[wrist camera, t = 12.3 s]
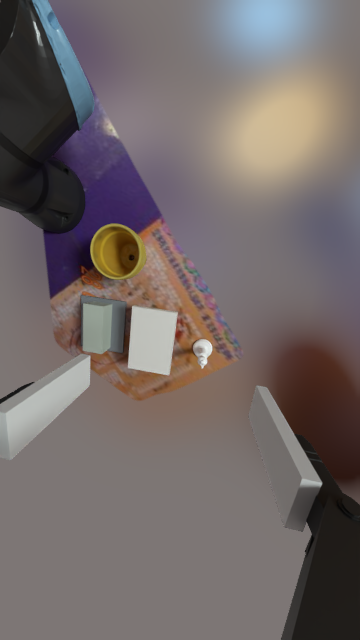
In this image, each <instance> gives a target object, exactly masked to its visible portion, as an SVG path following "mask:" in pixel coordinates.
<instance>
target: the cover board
mask: <svg viewBox="0 0 360 640" xmlns="http://www.w3.org/2000/svg"><path fill="white" fill-rule="evenodd" d="M177 315H178V312H176V311H170V310H163V309H156V308H150V307H143V306H137V305H134V306H132V317H131V331H130V345H129V359H128V368H132V369H137V370H143V371H148V372H154V373H159V374H164V375H169V374H170V368H171V361H172V353H173V345H174V338H175V330H176V322H177Z"/></svg>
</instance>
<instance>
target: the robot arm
mask: <svg viewBox="0 0 360 640" xmlns="http://www.w3.org/2000/svg"><path fill="white" fill-rule="evenodd" d="M93 110H94V98H93V94H92V91H91V88H90V86H89V84H88V81H87V79H86V77H85V75H84V72H83V70H82V68H81V66H80V64H79V62H78V60H77V57H76V55H75V53H74V51H73V49H72V47H71V45H70V43H69V41H68V39H67V37H66V35H65V33H64V31H63V29H62V27H61V26H60V24H59V23H58V21H57V18H56V16H55V14H54V12H53V10H52V8H51V6H50V4H49V2H48V0H0V206H2V207H5V208H7V209H10V210H13V211H16V212H19V213H20V214H22V215H23V216H24V217H25V218H27V219H28V220H29V221H31V222H32V223H33V224H35V225H36V226H38V227H40V228H41V229H44V230H47V231H50V232H54V233H64V232H68V231H70V230H71V229H73V228H74V227H75V226H76V225H77V224H78V223H79V222H80V220H81V218H82V216H83V213H84V209H85V194H84V189H83V186H82V184H81V182H80V180H79V178H78V177H77V175H76V174H75V173H74V172H73V171H72V170H71V169H70V168H69V167H68V166H67V165H65V164H64V163H63V162H61V161H60V160H58V159H56V158H54V157H51V156H52V155H53V154H54V153H55V152H56V151H57V150H58V149H59V148H60V147H61V146H62V145H63V144H64V143H65V142H66V141H67V140H68V139H69V138H70V137H71V136H72V135H73V134H74V133H75V132H76V131H77V130H78V131H80V130H81V128H82V125H83V124H84V122H85V121H86V120H87V119H88V118H89V117H90V116H91V114H92V113H93ZM89 386H90V355H85V354H80V355H79V356H77V357H75V358H74V359H72V360H71V361H69V362H67V363H66V364H64V365H62V366H61V367H59V368H58V369H56V370H54V371H53V372H51V373H50V374H48V375H46V376H45V377H43V378H42V379H40V380H38V381H37V382H32V383H29V384H26V385H24V386H22V387H20V388H18V389H17V390H15V391H14V392H12V393H10V394H8V395H7V396H5V397H3V398H2V399H0V458H3V459H8V460H11V459H12V458H13V457H14V456H16V454H18V452H20V451H21V450H22V449H23V448H24V447H25V446H26V445H27V444H28V443H29V442H30V441H31V440H33V439H34V438H35V437H36V436H37V435H38V434H39V433H40V432H41V431H42V430H43V429H44V428H45V427H46V426H47V425H48V424H49V423H51V422H52V420H54V419H55V418H56V417H57V416H58V415H59V414H60V413H61V412H62V411H63V410H64V409H65V408H66V407H67V406H68V405H70V404H71V403H72V402H73V401H74V400H75V399H76V398H77V397H78V396H79V395H80V394H81V393H82V392H83V391H84V390H85V389H86V388H88V387H89ZM248 417H249V420H250V423H251V427H252V430H253V433H254V436H255V439H256V442H257V445H258V448H259V451H260V454H261V457H262V461H263V464H264V466H265V469H266V473H267V476H268V479H269V482H270V485H271V488H272V491H273V494H274V497H275V500H276V504H277V507H278V510H279V513H280V516H281V519H282V522H283V525H284V527H285V528H289V529H293V530H298V531H301V532H303V530H304V527H305V525H306V522H307V523H308V526H309V528H310V530H311V533H312V536H311V538H310V540H309V543H308V545H307V548H306V550H305V552H306V555H305V558H304V562H303V565H302V569H301V572H300V575H299V579H298V583H297V586H296V589H295V593H294V596H293V599H292V603H291V607H290V610H289V613H288V617H287V620H286V624H285V627H284V631H283V634H282V638H281V640H360V505H359V504H358V503H357V502H356V501H355V500H353V499H352V498H351V497H349V496H347V495H345V494H344V493H342V491H341V490H340V488H339V486H338V485H337V483H336V482H335V480H334V479H333V478H332V476H331V474H330V473H329V471H328V470H327V468H326V467H325V465H324V464H323V463H322V460H321V459H320V457H319V456H318V455H317V453H316V451H315V450H314V448H313V446H312V445H311V444H310V443H309V442H308V441H307V440H306V439H305V438H304V437H303V436H302V435H297V434H294V433H293V432H292V430H291V428H290V426H289V425H288V423H287V421H286V420H285V418H284V416H283V414H282V413H281V411H280V409H279V408H278V406H277V404H276V403H275V401H274V399H273V397H272V396H271V394H270V392H269V390H268V389H267V388H266V387H261V386H256V389H255V392H254V396H253V401H252V404H251V408H250V412H249V416H248Z"/></svg>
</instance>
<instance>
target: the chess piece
mask: <svg viewBox="0 0 360 640" xmlns="http://www.w3.org/2000/svg"><path fill="white" fill-rule="evenodd" d="M193 351H194V353H195V355H196V356H198V364H199V365H201V367H202V368H204V365H206V364H207V357H208V356H209V355H210V354H211V352H212V345H211V343H210V342H209V341H208V340H205V339H200V340H197V341H196V342H195V343H194V345H193Z"/></svg>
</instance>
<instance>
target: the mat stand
mask: <svg viewBox="0 0 360 640" xmlns="http://www.w3.org/2000/svg"><path fill="white" fill-rule="evenodd" d="M126 304H127V302H124V301H117V300H111V299H104V298H98V297H91V296H84V295H81V346H83V351H88V352H94V353H99V354H102V353H104V352H105V351H106V350H107V351H113V352H119V353H123V351H124V335H125V319H126Z"/></svg>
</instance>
